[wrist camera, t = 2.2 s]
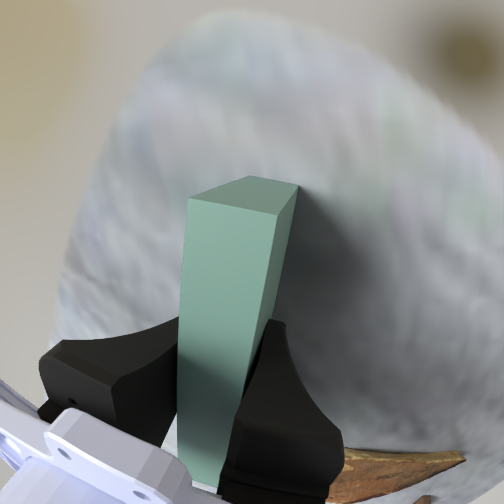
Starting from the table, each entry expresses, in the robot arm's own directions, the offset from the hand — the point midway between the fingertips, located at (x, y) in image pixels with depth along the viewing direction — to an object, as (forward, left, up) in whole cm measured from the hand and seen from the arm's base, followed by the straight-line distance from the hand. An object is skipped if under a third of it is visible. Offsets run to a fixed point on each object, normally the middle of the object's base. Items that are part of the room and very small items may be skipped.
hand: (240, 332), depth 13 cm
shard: (+10, -10, -2) cm, 14 cm away
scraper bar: (0, 0, -2) cm, 2 cm away
